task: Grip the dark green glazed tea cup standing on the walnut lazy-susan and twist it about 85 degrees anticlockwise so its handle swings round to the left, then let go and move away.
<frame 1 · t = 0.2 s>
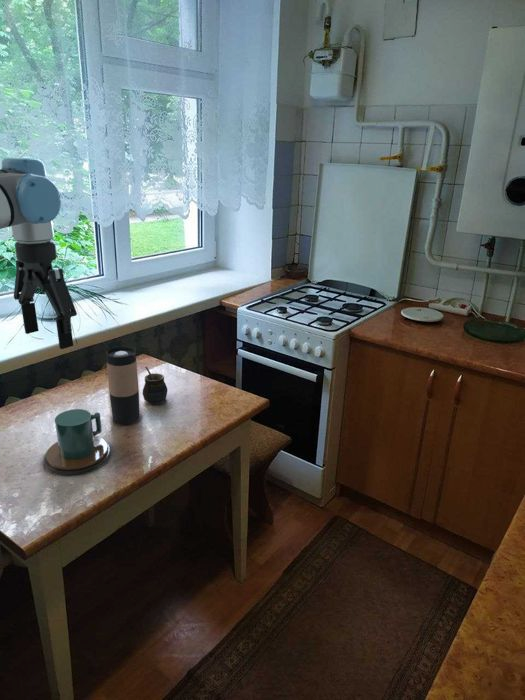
hand: (48, 339, 107), 31 cm above the table, tool pointing down, fingers open, 13 cm apart
travel mug: (126, 419, 137), on the table
mate gourd: (155, 401, 147), on the table
tea cup: (75, 435, 117), point 6 cm above the table, hinge at 0.0°
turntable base: (78, 456, 119), on the table
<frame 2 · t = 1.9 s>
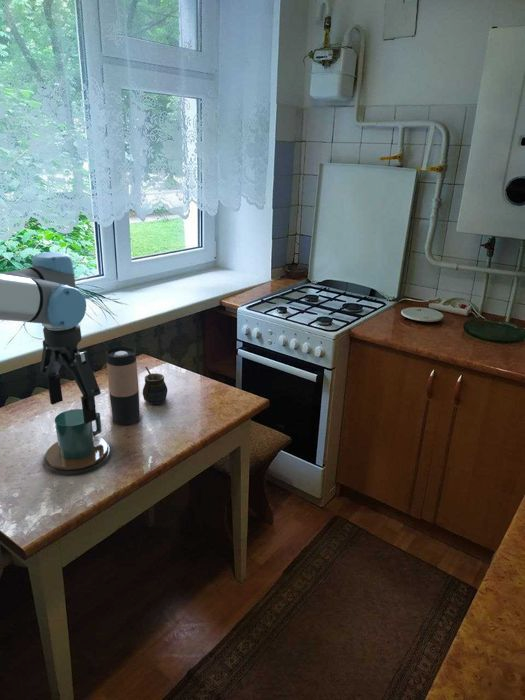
hand: (73, 411, 115), 12 cm above the table, tool pointing down, fingers open, 13 cm apart
nothing on the table moved.
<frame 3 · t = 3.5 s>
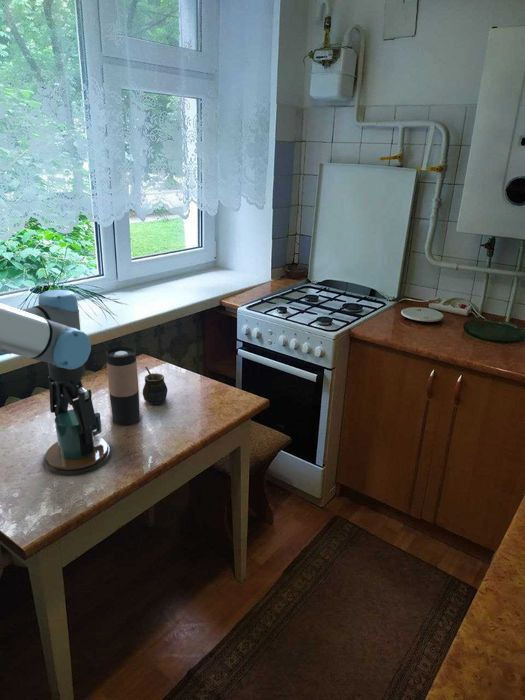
hand: (76, 446, 118), 3 cm above the table, tool pointing down, fingers closed on tea cup, 8 cm apart
tea cup: (75, 435, 117), point 6 cm above the table, hinge at -0.1°, touching gripper
everything else where it was.
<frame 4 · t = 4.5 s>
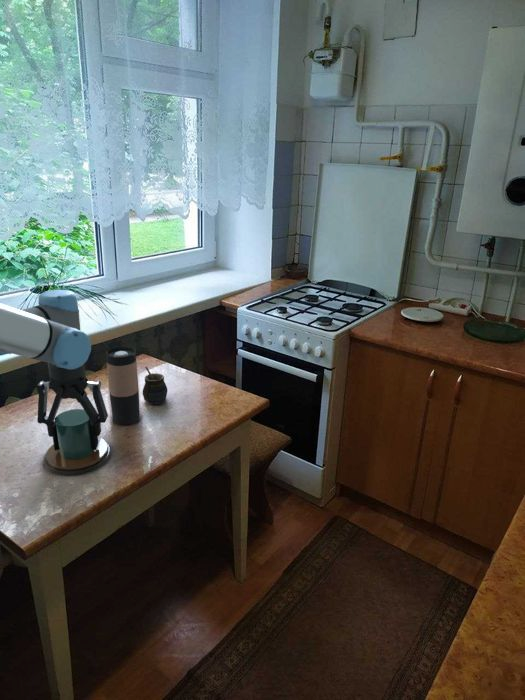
hand: (76, 446, 118), 3 cm above the table, tool pointing down, fingers closed on tea cup, 8 cm apart
tea cup: (75, 435, 117), point 6 cm above the table, hinge at 39.6°, touching gripper
everything else where it was.
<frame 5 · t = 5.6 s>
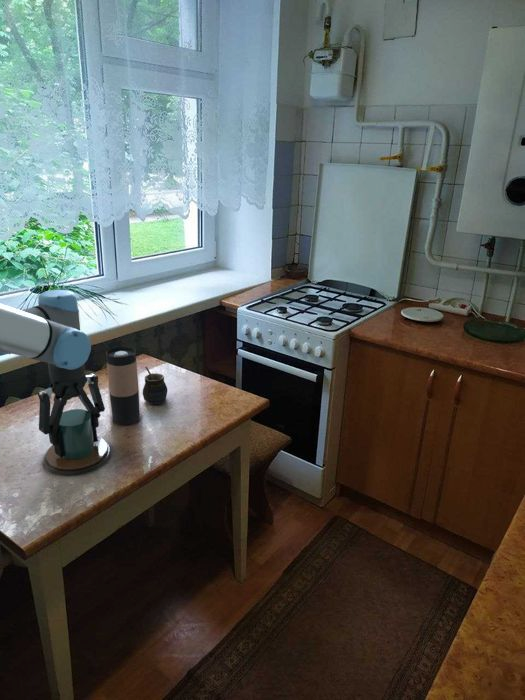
hand: (76, 446, 118), 3 cm above the table, tool pointing down, fingers closed on tea cup, 8 cm apart
tea cup: (75, 435, 117), point 6 cm above the table, hinge at 84.0°, touching gripper
everything else where it was.
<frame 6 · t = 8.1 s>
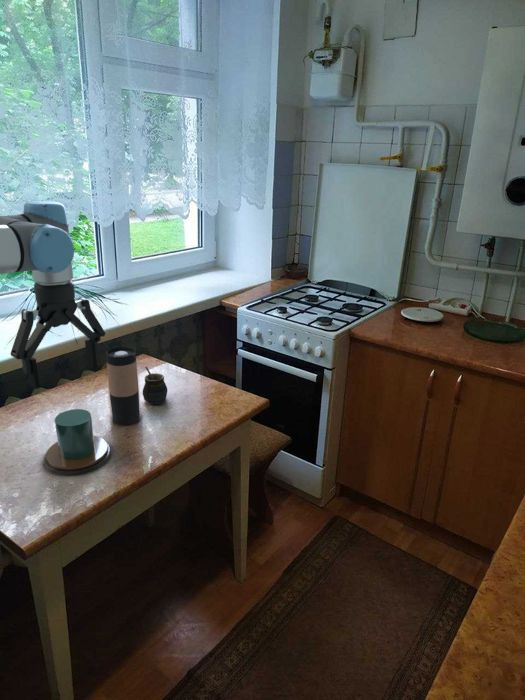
hand: (64, 376, 108), 23 cm above the table, tool pointing down, fingers open, 13 cm apart
tea cup: (75, 435, 117), point 6 cm above the table, hinge at 84.0°
everything else where it was.
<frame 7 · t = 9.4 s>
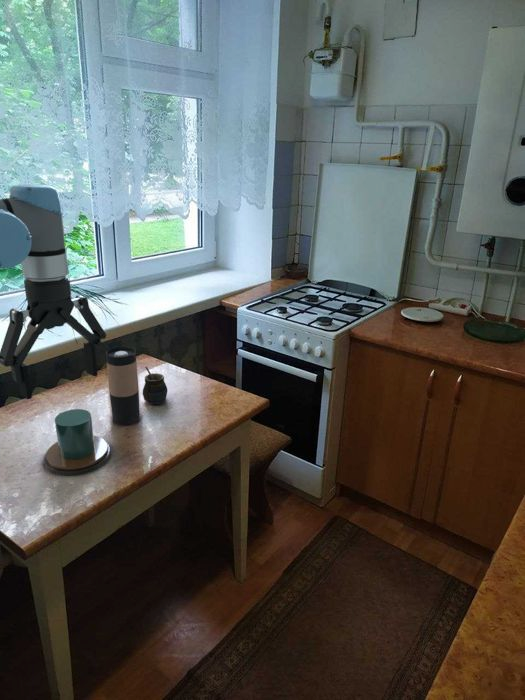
hand: (60, 384, 96), 27 cm above the table, tool pointing down, fingers open, 13 cm apart
nothing on the table moved.
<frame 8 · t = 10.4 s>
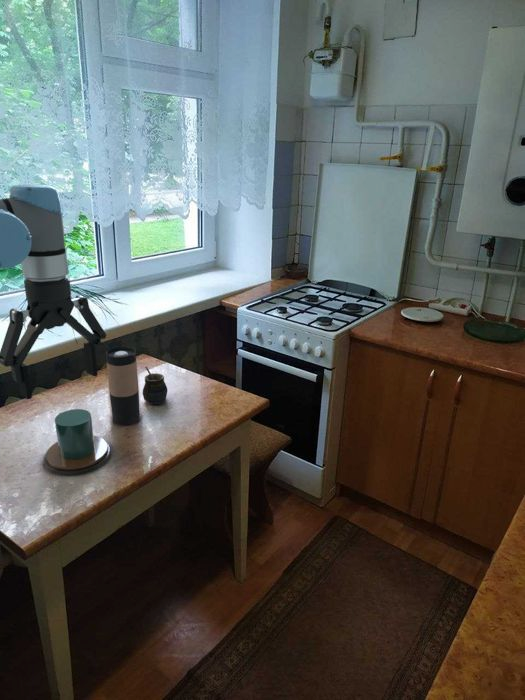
hand: (60, 384, 96), 27 cm above the table, tool pointing down, fingers open, 13 cm apart
nothing on the table moved.
at the end: tea cup at +84° (first picture: +0°); travel mug moved 0.2 cm from its start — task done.
